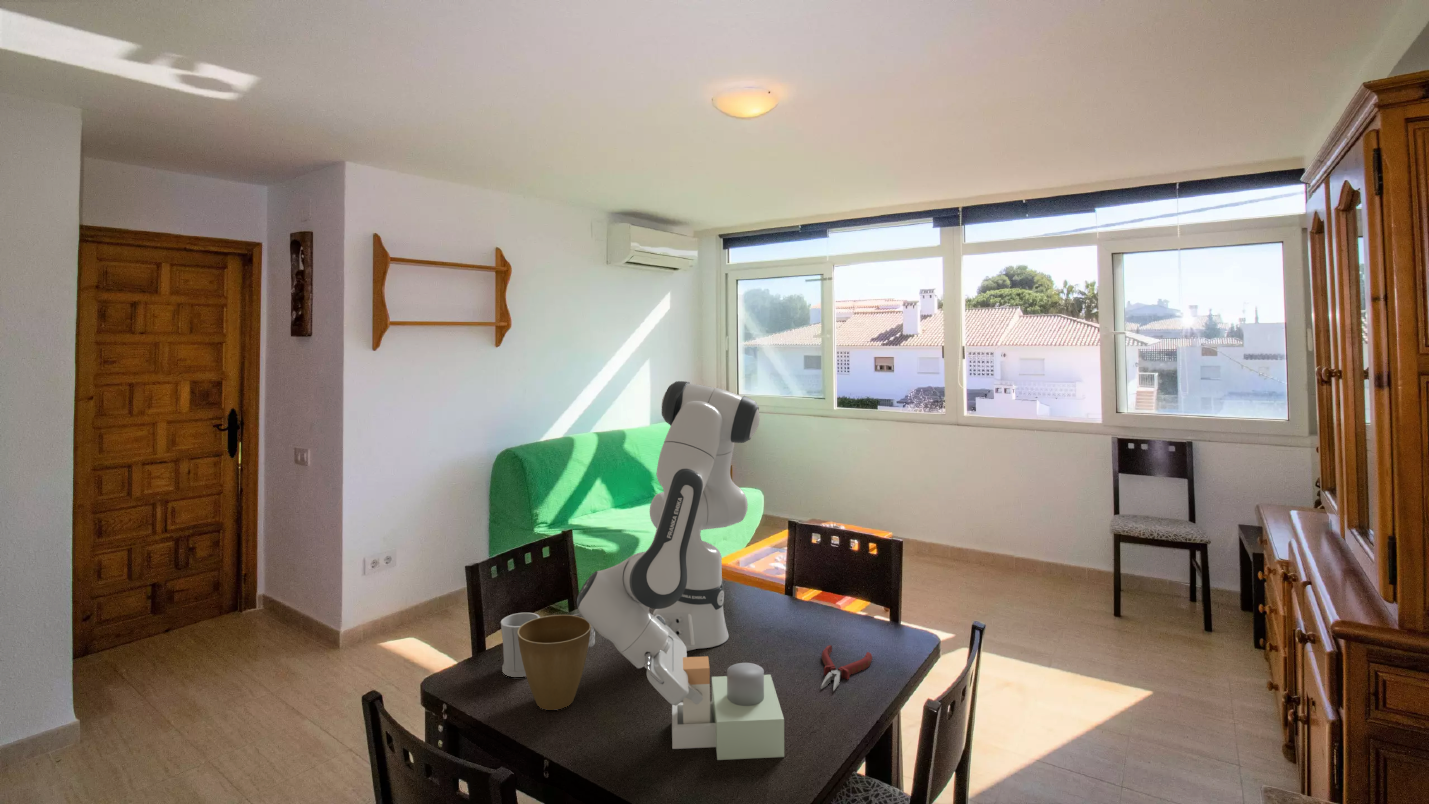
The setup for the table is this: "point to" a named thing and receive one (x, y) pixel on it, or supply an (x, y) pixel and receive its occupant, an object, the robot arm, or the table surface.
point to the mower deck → (736, 717)
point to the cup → (513, 643)
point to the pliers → (841, 668)
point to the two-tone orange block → (701, 681)
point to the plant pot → (554, 657)
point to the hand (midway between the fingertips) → (699, 691)
